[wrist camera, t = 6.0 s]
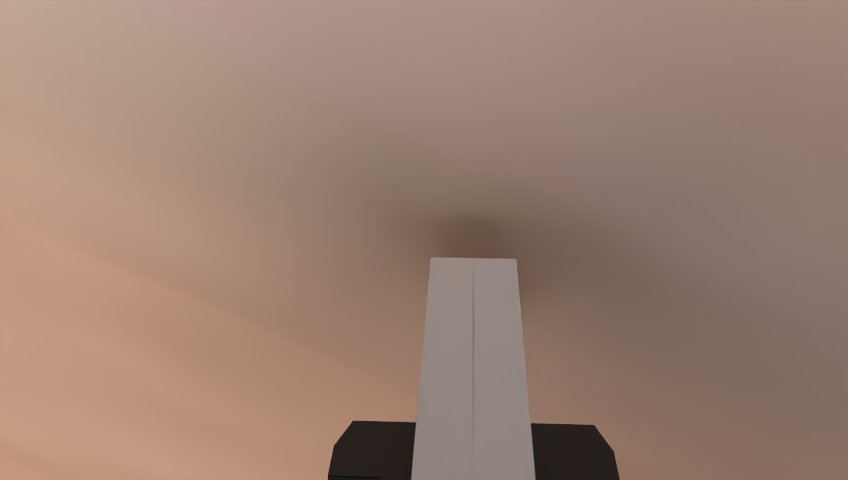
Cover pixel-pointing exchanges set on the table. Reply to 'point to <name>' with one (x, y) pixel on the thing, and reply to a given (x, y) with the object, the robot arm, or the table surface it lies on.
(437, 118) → the table surface
